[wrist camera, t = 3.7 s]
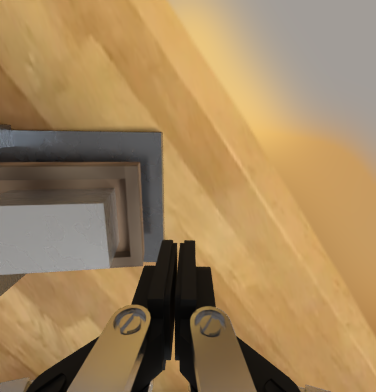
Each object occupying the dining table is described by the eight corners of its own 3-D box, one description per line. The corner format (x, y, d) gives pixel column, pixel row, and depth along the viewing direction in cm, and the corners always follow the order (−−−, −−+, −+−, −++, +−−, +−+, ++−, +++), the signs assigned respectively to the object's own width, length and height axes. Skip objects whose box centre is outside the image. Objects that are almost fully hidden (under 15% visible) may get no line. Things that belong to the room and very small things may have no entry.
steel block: (114, 188, 18) (103, 203, 15) (119, 241, 20) (109, 268, 16) (10, 190, 17) (-31, 206, 14) (23, 246, 19) (-11, 275, 15)
